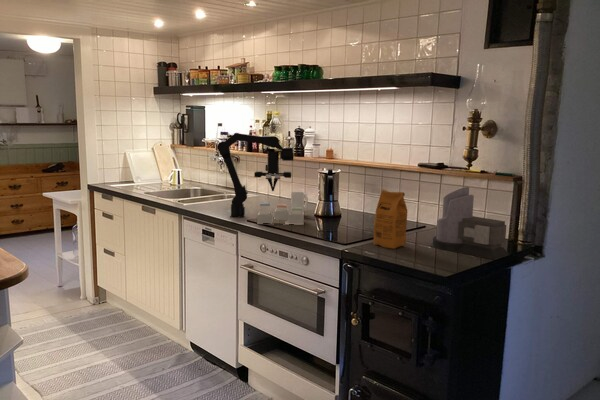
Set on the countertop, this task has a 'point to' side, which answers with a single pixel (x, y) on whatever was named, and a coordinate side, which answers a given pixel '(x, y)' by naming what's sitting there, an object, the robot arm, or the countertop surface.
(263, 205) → the key slate
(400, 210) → the coffee package
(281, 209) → the key terracotta
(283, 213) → the keypad
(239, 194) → the robot arm
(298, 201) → the mug
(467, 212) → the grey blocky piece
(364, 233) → the countertop surface
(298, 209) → the key sage
